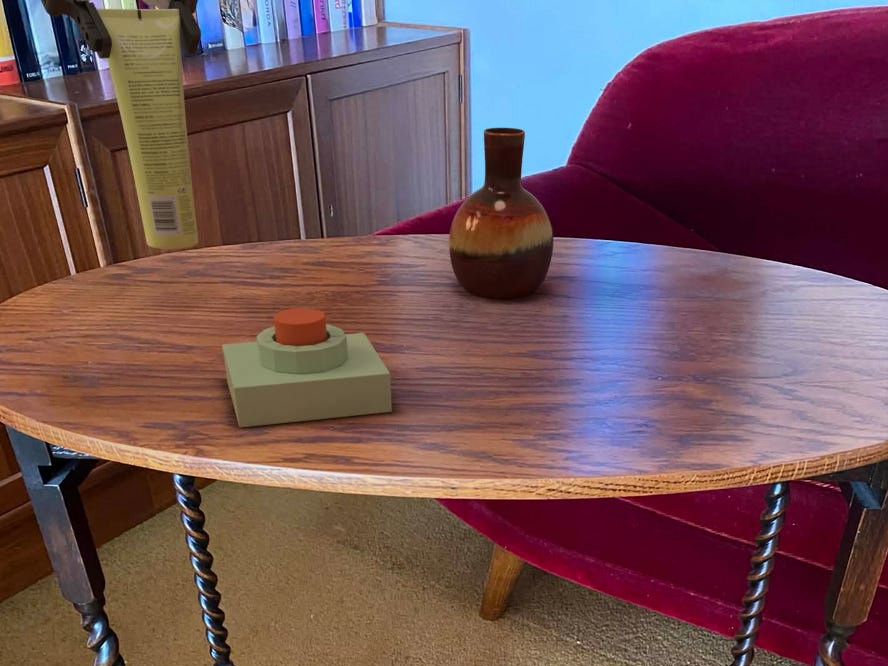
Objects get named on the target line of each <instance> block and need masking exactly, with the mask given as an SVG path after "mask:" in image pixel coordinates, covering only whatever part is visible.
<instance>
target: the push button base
mask: <svg viewBox="0 0 888 666" xmlns="http://www.w3.org/2000/svg"><path fill="white" fill-rule="evenodd" d="M326 330H327V341H325V342H322V343H319V344H315V345H307V346H289V345H283V344H280V343H277V342H276V333H275V325H274V326H271V327H268V328H265V329H263V330H262V331H261V332H260V333H259V334H257V335H256V341H249V342H248V341H247V342H246V341H245V342H235V343H224V344H223V343H222V344H221V348H222V355H223V360H224V361H223V362H224V369H225V375H226V382H227V386H228V390H229V394H230V396H231V401H232V404H233V408H234V412H235V416H236V420H237V424H238V428H241V429H242V428H250V427H258V426H259V427H260V426H269V425H277V424H279V425H280V424H287V423H297V422H306V421H307V422H308V421H317V420H327V419H336V418H344V417H345V418H346V417H355V416H364V415H365V416H366V415H374V414H383V413H392V412H393V409H392V407H393V406H392V388H391V387H392V385H391V384H392V381H391V372H390V371H389V370H388V367H387V366H386V364H385V363H384V361H383V359H382V358H381V357H380V355H379V354H378V352H377V351H376V349H375V348H374V346H373V345H372V342H371V341H370V340H369V338H368V337H367V335H366V333H365V332H358V333H357V332H355V333H347V334H346V333H345V331H344V329H343V328H339V327H337V326H334V325H331V324H328V323H326Z"/></svg>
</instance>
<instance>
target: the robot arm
mask: <svg viewBox="0 0 888 666" xmlns="http://www.w3.org/2000/svg"><path fill="white" fill-rule="evenodd" d="M141 1H142V2H143V3H145V4H146V5H147V6H149V7H153V6H155V7H156V8H157V9H179V14H180V42H181V48H182V49H183V51H184V53H185V54H186V55H196V53H197V51H198V47H199V44H200V41H201V39H202V30H201V28H200V26H199V24H198V22H197V21H196V18H195V16H194V14H196V10H197V7H198V6H197V5H198V2H199V0H141ZM40 2H41V4H42V6H43V8H44V10H45V12H46V13H47V14H48V15H49V16H51V17H54V18H58V17H60V16H61V15H64V16H66V17H67V16H68V17H69V18H70V19H71V21H72V22H74V23H75V24H76V25H77V28H78V30H79V32H80V34H81V36H82V38H83V39H84V41H85V44H86V45H87V48H88V49H90V51H91V52H93V53H96V54H97V56H98V58H99V59H100V60H102V59H103V60H105V59H107V58H109V57H110V53H111V48H112V40H111V37H110V35H109V33H108V31H107V29H106V27H105V25H104V23H103V21H102V19H101V17H100V15H99V13H98V11H97V9H98V8H97V7H96V5H95V3H94V2H93V1H92V2H90V0H40Z"/></svg>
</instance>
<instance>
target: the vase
mask: <svg viewBox="0 0 888 666" xmlns="http://www.w3.org/2000/svg"><path fill="white" fill-rule="evenodd" d="M525 138H526V131H525V130H523V129H520V128H515V127H490V128H486V129H484V130H483V150H484V182H483V186H482V187H480V188H479V189H477V190H475V191H474V192H472V193H471V194H470V195H468V197H467V198H466V199H465V200H464V201H463V202H462V203H461V205H460V206H459V207H458V209H457V211H456V213H455V215H454V217H453V219H452V222H451V225H450V229H449V236H448V252H449V259H450V263H451V268H452V271H453V274H454V276H455V278H456V280H457V282H458V283H459V285H460V286H461V288H462V289H463V290H465V291H466V292H467V293H468V294H470V295H473V296H475V297H479V298H484V299H491V300H513V299H520V298H524V297H528V296H530V295H532V294H534V293H535V292H536V291H537V290H538V289H539V288H540V287H541V285H542V284H543V282H544V281H545V279H546V277H547V275H548V272H549V269H550V266H551V263H552V258H553V252H554V231H553V226H552V223H551V220H550V217H549V215H548V213H547V211H546V209H545V207H544V206H543V205H542V203H541V202H540V201H539V199H537V198H536V197H535V196H534V195H533V194H532V193H531V192H530V191H528V190H526V189H524V187H523V184H522V170H523V160H524V159H523V157H524V149H525V148H524V147H525Z"/></svg>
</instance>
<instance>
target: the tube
mask: <svg viewBox="0 0 888 666" xmlns="http://www.w3.org/2000/svg"><path fill="white" fill-rule="evenodd" d="M96 9H97V11H98V13H99V15H100V17H101V19H102V21H103V23H104V25H105V27H106V29H107V31H108V33H109V35H110V37H111V40H112V48H111V53H110V57H109V58H106V60H107V65H108V69H109V73H110V76H111V80H112V85H113V89H114V93H115V97H116V102H117V106H118V109H119V114H120V118H121V121H122V122H121V123H122V127H123V132H124V137H125V141H126V146H127V150H128V155H129V159H130V164H131V169H132V174H133V179H134V183H135V189H136V195H137V201H138V205H139V210H140V216H141V220H142V227H143V230H144V236H145V240H146V241H145V242H146V245H147V246H148V247H150V248H152V249H155V250H183V249H189V248H192V247H194V246H197V245H198V244H199V234H198V233H199V232H198V225H197V224H198V223H197V215H196V209H195V199H194V189H193V180H192V171H191V160H190V151H189V150H190V149H189V140H188V129H187V116H186V105H185V104H186V103H185V93H184V78H183V62H182V45H181V42H180V14H179V9H159V8H157V9H156V8H154V9H152V8H140V9H139V8H138V9H137V8H96Z"/></svg>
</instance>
